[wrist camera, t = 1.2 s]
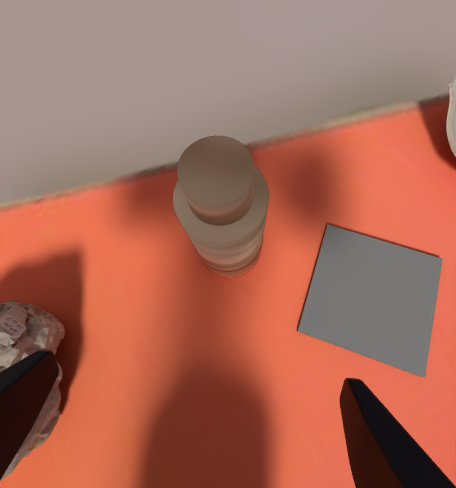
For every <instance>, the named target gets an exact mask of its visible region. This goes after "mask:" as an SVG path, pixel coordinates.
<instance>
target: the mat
mask: <svg viewBox="0 0 456 488" xmlns="http://www.w3.org/2000/svg"><path fill="white" fill-rule="evenodd" d="M441 266H442V258H438V257H435V256H432V255H428V254H425V253H422V252H418V251H415V250H412V249H408V248H405V247H402V246H398V245H395V244H392V243H388V242H385V241H382V240H378V239H375V238H371V237H368V236H365V235H361V234H358V233H355V232H351V231H348V230H345V229H341V228H338V227H335V226H331V225H327V227H326V230H325V234H324V237H323V241H322V244H321V248H320V252H319V255H318V259H317V262H316V266H315V269H314V273H313V276H312V280H311V284H310V287H309V291H308V294H307V298H306V301H305V305H304V308H303V312H302V316H301V319H300V323H299V326H298V330H297V331H298V332H301V333H304V334H306V335H309V336H312V337H315V338H317V339H320V340H323V341H326V342H328V343H331V344H334V345H336V346H339V347H342V348H345V349H347V350H350V351H353V352H356V353H358V354H361V355H364V356H367V357H369V358H372V359H375V360H377V361H380V362H383V363H386V364H388V365H391V366H394V367H397V368H399V369H402V370H405V371H408V372H410V373H413V374H416V375H418V376H421V377H425V371H426V365H427V358H428V351H429V345H430V338H431V332H432V325H433V318H434V312H435V305H436V299H437V292H438V286H439V279H440V272H441Z"/></svg>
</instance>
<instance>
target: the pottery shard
mask: <svg viewBox="0 0 456 488" xmlns="http://www.w3.org/2000/svg"><path fill="white" fill-rule="evenodd" d="M448 87H449V95H450V102H449V109H448V115H447V122H446V130H447V137H448V141H449V145H450V148H451V150H452V152H453V154H454V155H455V157H456V74H455V75H454V76H453V78H452V79H451V81H450V83H449V86H448Z"/></svg>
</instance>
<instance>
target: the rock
mask: <svg viewBox="0 0 456 488" xmlns="http://www.w3.org/2000/svg"><path fill="white" fill-rule="evenodd" d="M64 335H65V331H64V326H63V324H62V323H61V322H59V321H58V319H57V318H56V317H55V316H53V315H52V314H50V313H48V312H47V311H44V309H39V308H38V307H37V305H33V304H28V305H27V304H22V303H20V302H17V301H14V300H11V301H10V302H4V303H0V372H1V371H3V370H5V369H6V368H8V367H10V366H12V365H13V364H15V363H17V362H18V361H20V360H22V359H24V358H25V357H27V356H29V355H30V354H32V353H34V352H36V351H38V350H50V351H52V352H54V354H56V352H57V350H56V348H57V347H58V346H59V344H60V342H61V340H62V339H63V338H64ZM58 366H59V375H58V378H57V380H56V382H55V384H54V386H53V388H52V390H51V392H50V394H49V396H48V398H47V400H46V402H45V404H44V406H43V408H42V410H41V412H40V414H39V416H38V418H37V420H36V422H35V423H34V425H33V427H32V429H31V431H30V432H29V434H28V436H27V437H26V439H25V441H24V442H23V444H22V446H21V447H20V449H19V451H18V452H17V454H16V456H15V457H14V459H13V460H12V462H11V464H10V465H9V467H8V469H7V470H6V472H5V474H4V475H3V477H2V479H3V478H5V477H6V476H7V475H9V474H10V473H12V471H13V470H14V469H15V467H16V466H17V464H18V463H19V462H20V460H21V459H22V458H23V457H26V456H28V454H29V453H30V452H31V451H32V450H33V449H35V448H37V447H38V446H40V445H41V444H42V443H43V442H44V441H45V440H46V439H47V438H48V437H49V435H50V434H51V432H52V431H53V429H54V427H55V425H56V423H57V421H58V419H59V412H60V411H59V404H60V401H61V394H60V390H59V388H58V385H59V382H60V381H61V379H62V369H61V366H60V365H59V364H58ZM2 479H1V480H2ZM1 480H0V481H1Z"/></svg>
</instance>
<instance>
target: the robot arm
mask: <svg viewBox="0 0 456 488" xmlns="http://www.w3.org/2000/svg"><path fill="white" fill-rule="evenodd" d="M58 375H59V366H58V363H57V360H56V357H55V354H54V352H52V351H50V350H38V351H36V352H34V353H32V354H30V355H29V356H27V357H25V358H24V359H22V360H20V361H18V362H17V363H15V364H13V365H12V366H10V367H8V368H6V369H5V370H3V371H1V372H0V480H1V479H2V477H3V475H4V474H5V472H6V470H7V469H8V467H9V465H10V464H11V462H12V460H13V459H14V457H15V456H16V454H17V452H18V451H19V449H20V447H21V446H22V444H23V442H24V441H25V439H26V437H27V436H28V434H29V432H30V431H31V429H32V427H33V425H34V423H35V422H36V420H37V418H38V416H39V414H40V412H41V410H42V408H43V406H44V404H45V402H46V400H47V398H48V396H49V394H50V392H51V390H52V388H53V386H54V384H55V382H56V380H57V378H58ZM340 408H341V414H342V421H343V427H344V433H345V439H346V445H347V451H348V457H349V463H350V467H351V471H352V475H353V479H354V483H355V487H356V488H456V486H455V485H454V484H453V483H452V482H451V481H450V480H449V478H448V477H447V476H446V475H445V474H444V473H443V472H442V470H441V469H440V468H439V467H438V466H437V465H436V464H435V463H434V461H433V460H432V459H431V458H430V457H429V456H428V455H427V454H426V452H425V451H424V450H423V449H422V448H421V447H420V446H419V445H418V443H417V442H416V441H415V440H414V439H413V438H412V437H411V435H410V434H409V433H408V432H407V431H406V430H405V429H404V428H403V426H402V425H401V424H400V423H399V422H398V421H397V420H396V419H395V417H394V416H393V415H392V414H391V413H390V412H389V411H388V409H387V408H386V407H385V406H384V405H383V404H382V403H381V402H380V400H379V399H378V398H377V397H376V396H375V395H374V394H373V393H372V391H371V390H370V389H369V388H368V387H367V386H366V385H365V384H364V382H363V381H362V380H360V379H355V378H346V379H345V380H344V383H343V387H342V391H341V394H340Z"/></svg>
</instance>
